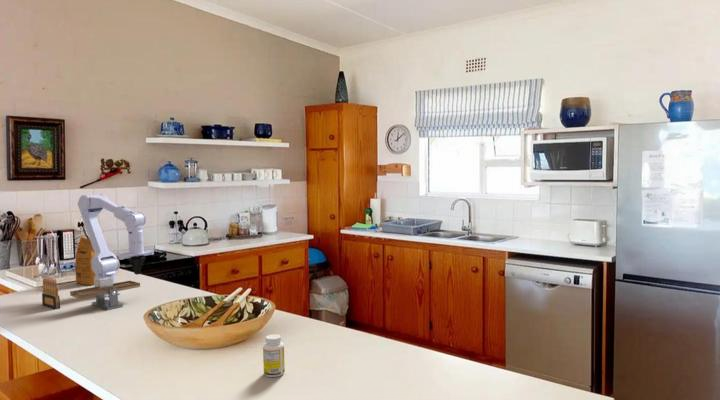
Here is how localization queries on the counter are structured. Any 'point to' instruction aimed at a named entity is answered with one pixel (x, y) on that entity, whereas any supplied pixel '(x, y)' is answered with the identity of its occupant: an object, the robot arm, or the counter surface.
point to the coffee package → (84, 262)
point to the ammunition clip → (50, 293)
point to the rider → (103, 283)
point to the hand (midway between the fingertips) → (137, 274)
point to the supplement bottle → (273, 356)
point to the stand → (110, 303)
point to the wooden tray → (93, 292)
